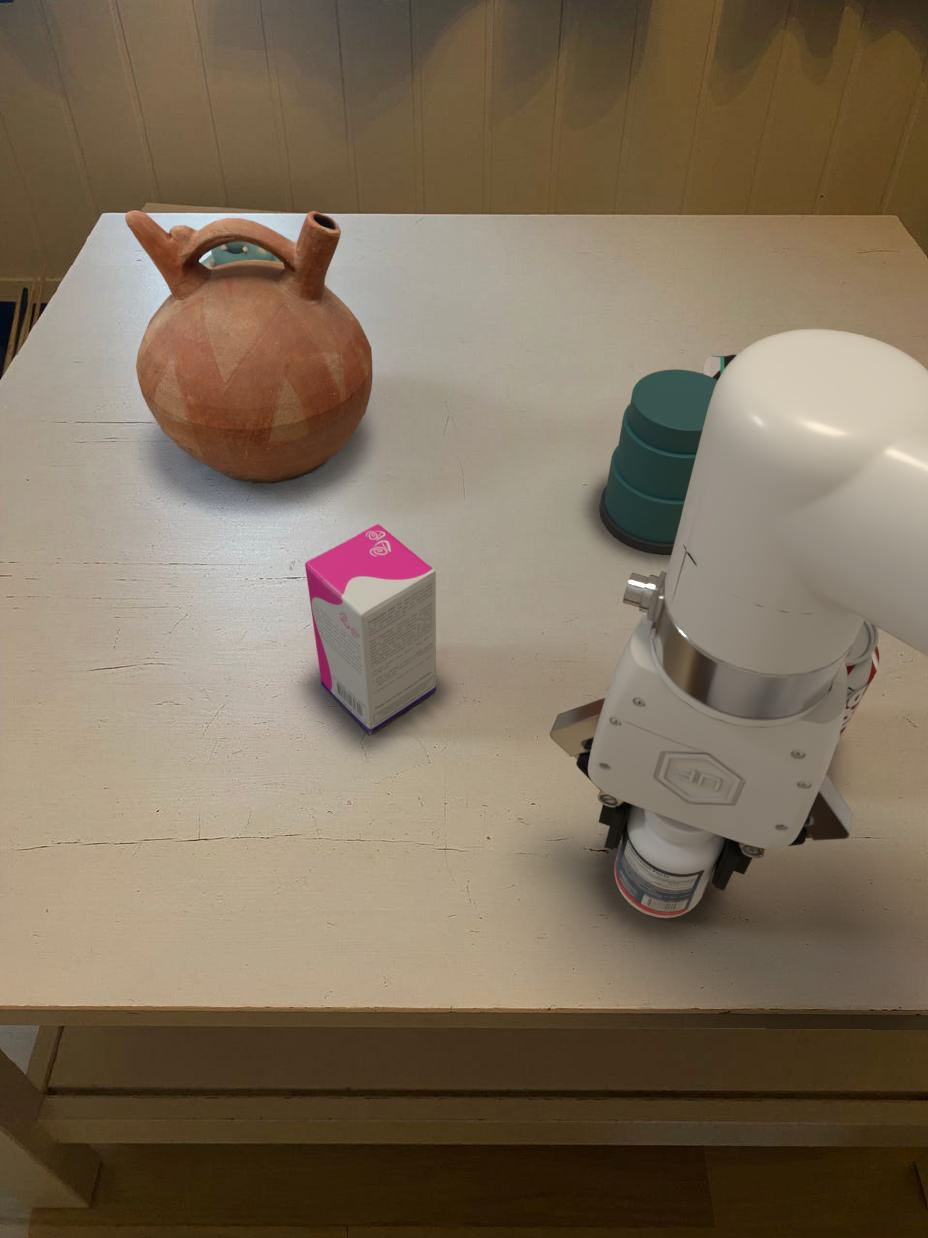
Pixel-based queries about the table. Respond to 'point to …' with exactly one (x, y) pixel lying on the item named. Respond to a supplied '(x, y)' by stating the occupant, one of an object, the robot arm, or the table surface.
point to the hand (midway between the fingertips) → (670, 845)
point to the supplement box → (374, 626)
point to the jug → (252, 349)
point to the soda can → (860, 668)
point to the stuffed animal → (237, 254)
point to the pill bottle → (664, 863)
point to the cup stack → (655, 458)
